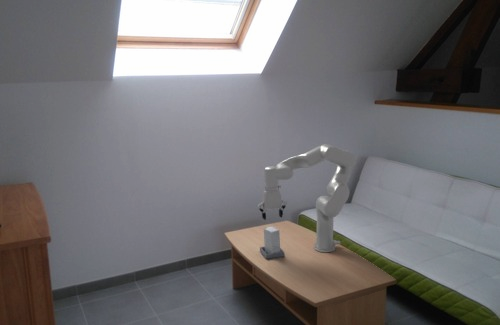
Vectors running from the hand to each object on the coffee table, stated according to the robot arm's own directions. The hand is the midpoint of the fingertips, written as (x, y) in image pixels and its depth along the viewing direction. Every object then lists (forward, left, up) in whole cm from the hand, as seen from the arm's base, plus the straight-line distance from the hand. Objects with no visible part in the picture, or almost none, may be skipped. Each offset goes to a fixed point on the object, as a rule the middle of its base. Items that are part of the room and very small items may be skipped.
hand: (272, 217), depth 237 cm
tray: (0, 0, -22) cm, 22 cm away
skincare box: (0, 0, -22) cm, 22 cm away
